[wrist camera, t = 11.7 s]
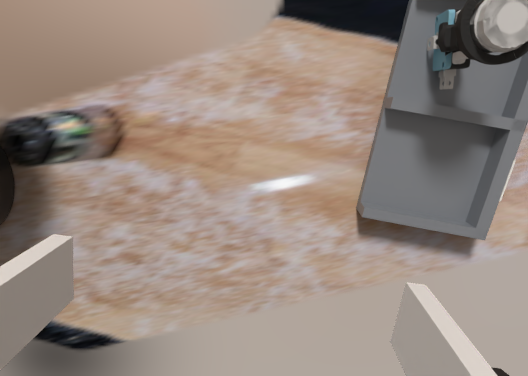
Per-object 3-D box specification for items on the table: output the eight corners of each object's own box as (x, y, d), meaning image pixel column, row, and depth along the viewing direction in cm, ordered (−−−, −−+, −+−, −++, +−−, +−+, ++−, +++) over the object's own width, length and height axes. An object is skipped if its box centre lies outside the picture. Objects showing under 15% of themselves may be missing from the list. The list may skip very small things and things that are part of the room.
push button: (470, 88, 32) (548, 82, 22) (410, 91, 33) (462, 86, 23) (477, 9, 31) (564, -34, 21) (415, 13, 31) (472, -27, 21)
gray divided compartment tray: (356, 207, 37) (362, 217, 34) (414, -22, 31) (427, -34, 28) (472, 229, 36) (487, 240, 33) (551, 2, 31) (578, -9, 28)
